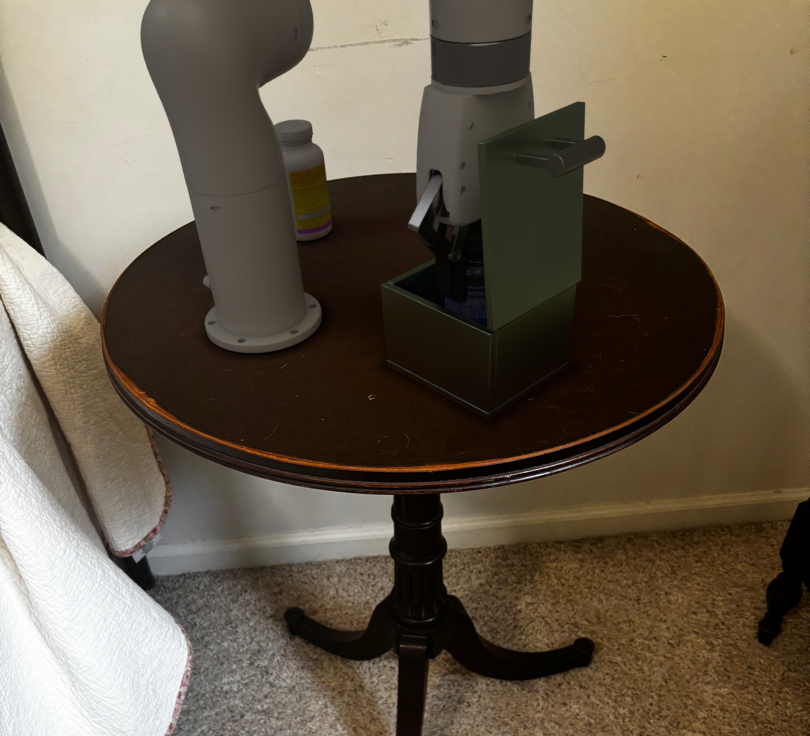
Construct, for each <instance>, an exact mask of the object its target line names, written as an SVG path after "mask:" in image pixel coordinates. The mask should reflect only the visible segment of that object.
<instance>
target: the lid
mask: <svg viewBox="0 0 810 736" xmlns="http://www.w3.org/2000/svg"><path fill="white" fill-rule="evenodd" d="M585 131H586V102H585V101H579V100H578V101H575V102H572V103H569V104H568V105H565V106H562V107H561V108H558V109H555V110H554V111H551V112H548V113H546V114H543V115H541V116H538V117H535V119H533V120H531V121H529V122H526V123H524V124H521V125H519V126H516V127H514V128H512V129H509V130H507V131H504V132H502V133H499V134H497V135H495V136H492V137H490V138H487V139H485V140H482V141H480V142H478V143H477V152H478V169H479V187H480V205H481V223H482V240H483V258H484V276H485V294H486V311H487V328H488V329H490V330H493V331H495V330H497V329H499V328H500V327H502V326H504V325H505V324H507V323H509V322H511V321H512V320H514V319H516V318H517V317H519V316H521V315H523V314H524V313H526V312H528V311H530V310H531V309H533V308H535V307H536V306H538V305H540V304H542V303H543V302H545V301H547V300H548V299H550V298H552V297H554V296H555V295H557V294H559V293H560V292H562V291H564V290H566V289H567V288H569V287H571V286H572V285H574V284H576V285H577V284H578V283H579V282H581V281H582V261H583V260H582V255H583V254H582V253H583V218H584V217H583V216H584V215H583V214H584V213H583V212H584V211H583V210H584V174H585V173H584V172H585V166H586V165H588V164H590V163H592V162H594V161H596V160H598V159H601V158H602V157H603V156H604V155H605V153H606V148H607V147H606V146H607V145H606V141H605V140H604V138H603V137H602V136H601V135H592V136H590V137H588V138H586V139H585V136H586V135H585V133H586V132H585Z"/></svg>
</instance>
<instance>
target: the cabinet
mask: <svg viewBox="0 0 810 736" xmlns="http://www.w3.org/2000/svg"><path fill="white" fill-rule="evenodd" d="M577 287H578V286H577V283H576V284H574V285H572V286H571V287H569V288H567V289H566V290H564V291H562V292H560V293H559V294H557V295H555V296H554V297H552V298H550V299H548V300H547V301H545V302H543V303H542V304H540V305H538V306H536V307H535V308H533V309H531V310H530V311H528V312H526V313H524V314H523V315H521V316H519V317H517V318H516V319H514V320H512V321H511V322H509V323H507V324H505V325H504V326H502V327H500V328H499V329H497V330H495V331H493V330H490V329H488V328H487V327H485V326H483V325H481V324H479V323H477V322H474V321H472V320H470V319H468V318H466V317H463V316H461V315H459V314H457V313H455V312H452V311H450V310H448V309H446V308H445V296H443V295H440V294H438V292H437V290H436V263H435V257H434V258H432V259H430V260H428V261H426V262H424V263H422V264H419V265H418V266H415V267H414V268H412V269H410V270H408V271H406V272H404V273H402V274H399V275H398V276H396V277H393V278H391V279H390V280H387V281H385V282H382V283H381V284H380V291H381V303H382V316H383V317H382V318H383V329H384V330H383V331H384V343H385V353H386V355H385V357H386V366H387V367H388V368H389V369H391V370H393V371H395V372H397V373H399V374H401V375H402V376H404V377H406V378H408V379H410V380H411V381H412V382H415V383H417V384H419V385H420V386H422V387H424V388H427V389H428V390H430V391H432V392H434V393H436V394H438V395H439V396H441V397H443V398H445V399H446V400H449V401H450V402H452V403H454V404H456V405H458V406H460V407H461V408H464V409H466V410H467V411H469V412H471V413H473V414H475V415H476V416H478V417H480V418H482V419H484V420H486V421H490V420H492V419H493V418H495V417H496V416H498V415H499V414H501V413H502V412H504V411H505V410H508V408H510V407H512V406H513V405H515V404H516V403H518V402H519V401H521V400H523V399H524V398H525V397H527V396H528V395H530V394H531V393H533V392H534V391H536V390H538V389H539V388H541V387H542V386H543V385H545V384H547V383H548V382H550V381H551V380H553V379H554V378H556V377H558V375H561V374H562V373H563V372H565V371H566V370H568V369H569V360H570V352H571V341H572V332H573V323H574V315H575V304H576V294H577Z"/></svg>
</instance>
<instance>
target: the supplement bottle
mask: <svg viewBox="0 0 810 736" xmlns="http://www.w3.org/2000/svg"><path fill="white" fill-rule="evenodd" d="M274 126H275V129H276V131H277V133H278V136H279V139H280V143H281V147H282V152H283V157H284V164H285V170H286V175H287V182H288V188H289V195H290V202H291V208H292V215H293V222H294V228H295V235H296V242H308V241H315V240H319V239H320V238H323V237H326V235H328V234H330V232H331V231H332V228H333V218H332V217H333V216H332V210H331V202H330V201H331V200H330V195H329V186H328V185H329V184H328V179H327V178H328V177H327V170H326V162H325V155H324V154H325V153H324V151H323V149H322V148H321V147H320V145H318V144H316V143H315V142H313V136H314V130H313V124H312V121H311V122H310V121H309V120H307V119H287V120H282V121H279V122H276V123H275V124H274Z"/></svg>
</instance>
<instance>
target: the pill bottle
mask: <svg viewBox="0 0 810 736" xmlns="http://www.w3.org/2000/svg"><path fill="white" fill-rule="evenodd" d="M453 229H454V227H451V234H452V233H453ZM461 257H464V258H466V261H467V297H466V300H465V301H463V302H461V303H458V302H456V301H454V300H452V299H449V298H447V297H445V308H446V309H448V310H450V311H452V312H455V313H457V314H459V315H461V316H463V317H466V318H468V319H470V320H472V321H474V322H477V323H479V324H481V325H483V326H485V327H487V311H486V294H485V276H484V258H483V240H482V223H481V219H479V220H477V221H475V222H472V223H470V224H469V227H468V230H467V234H466V238H465V242H464V246H463V250H462V254H461Z"/></svg>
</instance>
